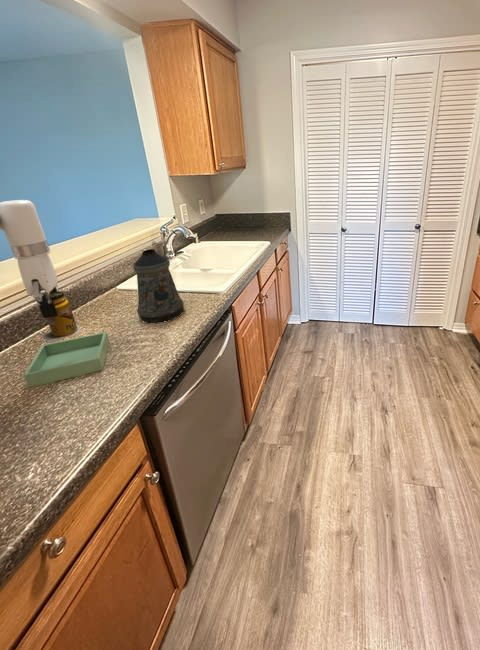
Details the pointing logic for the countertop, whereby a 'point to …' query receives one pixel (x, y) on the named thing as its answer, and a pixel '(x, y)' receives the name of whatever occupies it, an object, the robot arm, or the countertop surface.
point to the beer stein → (156, 289)
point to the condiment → (60, 319)
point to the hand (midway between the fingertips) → (54, 311)
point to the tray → (68, 359)
